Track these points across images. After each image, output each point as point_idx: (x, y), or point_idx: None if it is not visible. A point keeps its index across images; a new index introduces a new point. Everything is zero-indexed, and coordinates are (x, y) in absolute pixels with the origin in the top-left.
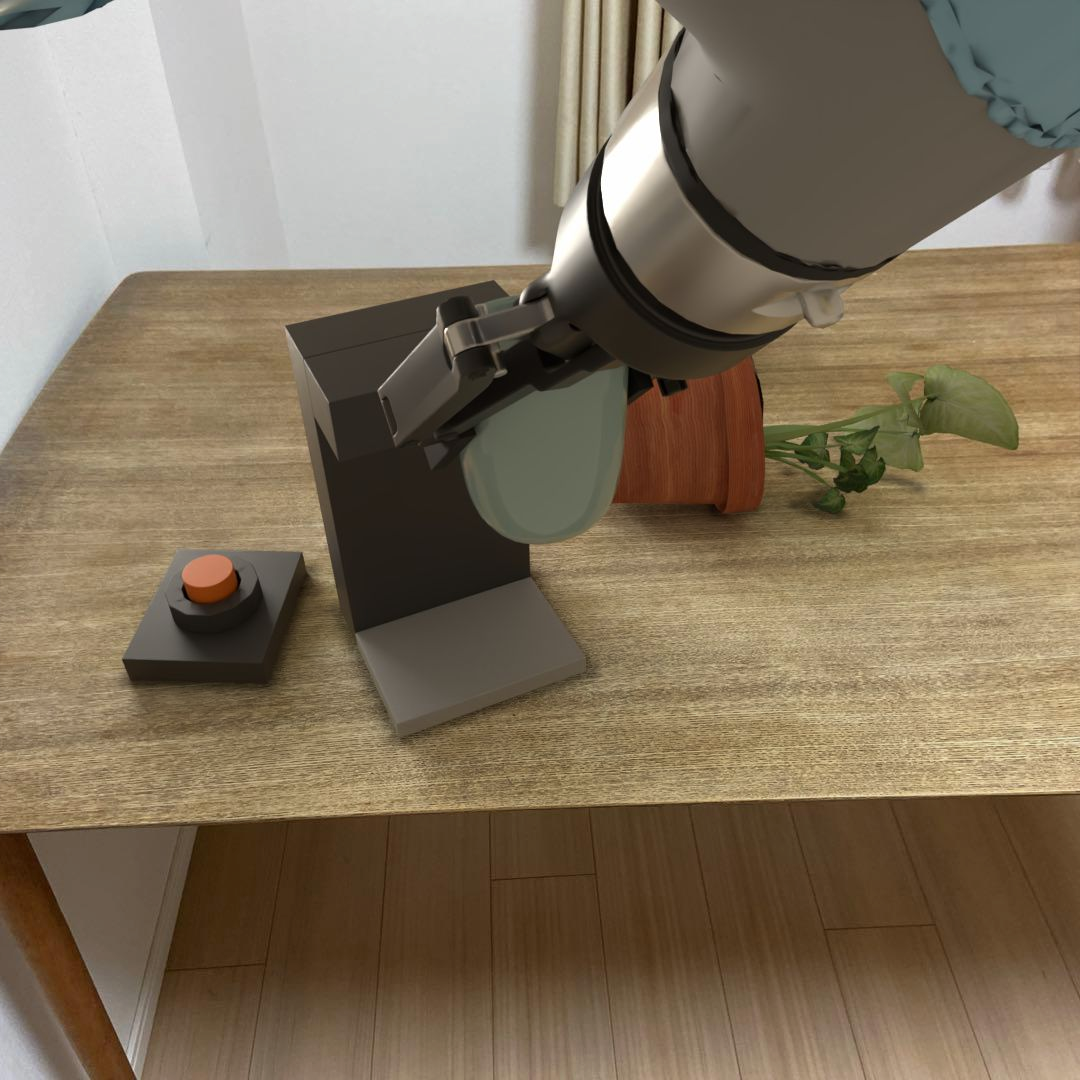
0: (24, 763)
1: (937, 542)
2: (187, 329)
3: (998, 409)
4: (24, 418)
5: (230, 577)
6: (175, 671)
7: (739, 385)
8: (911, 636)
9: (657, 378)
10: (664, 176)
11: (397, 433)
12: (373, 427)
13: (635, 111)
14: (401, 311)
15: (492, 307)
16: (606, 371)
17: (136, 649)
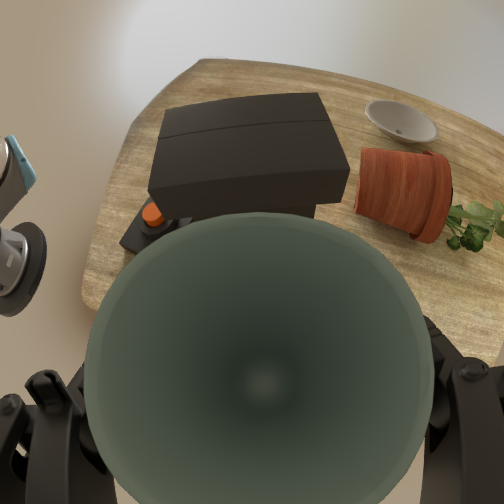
0: (87, 276)
1: (482, 280)
2: (207, 79)
3: None
4: (140, 113)
5: (160, 217)
6: (136, 253)
7: (443, 189)
8: (458, 333)
9: (425, 442)
10: None
11: (26, 455)
12: (186, 204)
13: None
14: (242, 105)
15: (212, 232)
16: None
17: (124, 239)
